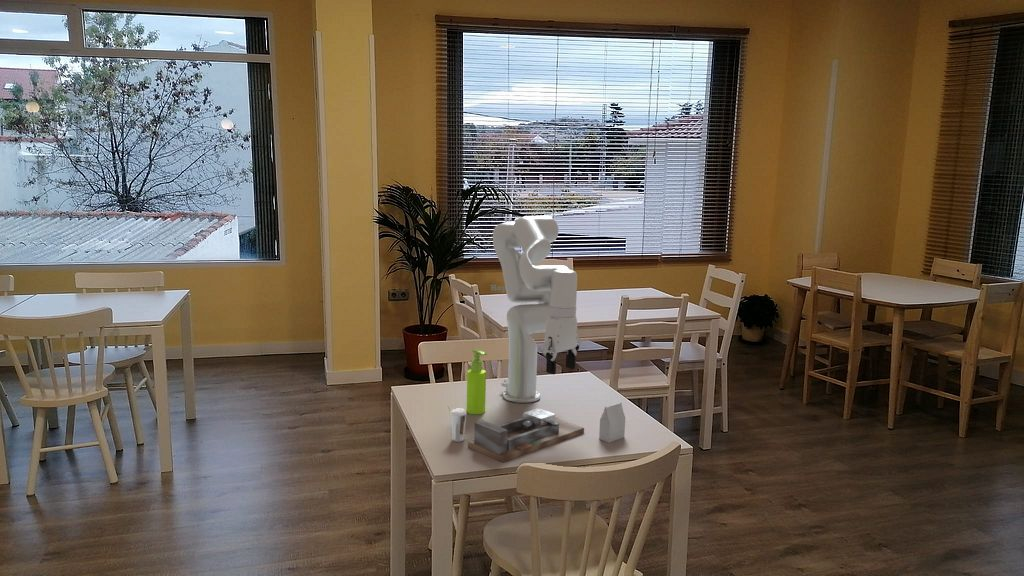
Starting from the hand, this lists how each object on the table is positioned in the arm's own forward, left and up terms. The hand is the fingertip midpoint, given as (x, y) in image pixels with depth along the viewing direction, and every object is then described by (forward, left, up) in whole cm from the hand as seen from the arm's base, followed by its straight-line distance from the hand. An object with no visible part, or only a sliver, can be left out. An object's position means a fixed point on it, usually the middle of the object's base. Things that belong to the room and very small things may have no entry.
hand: (560, 370), depth 217 cm
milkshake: (-13, -28, -18) cm, 36 cm away
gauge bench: (0, -13, -18) cm, 22 cm away
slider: (+2, -10, -16) cm, 19 cm away
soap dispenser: (-27, -8, -18) cm, 34 cm away
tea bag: (+15, +7, -18) cm, 25 cm away
